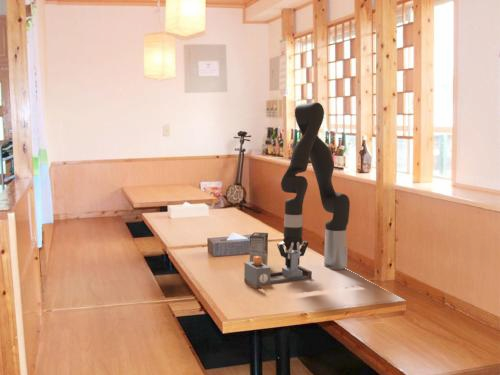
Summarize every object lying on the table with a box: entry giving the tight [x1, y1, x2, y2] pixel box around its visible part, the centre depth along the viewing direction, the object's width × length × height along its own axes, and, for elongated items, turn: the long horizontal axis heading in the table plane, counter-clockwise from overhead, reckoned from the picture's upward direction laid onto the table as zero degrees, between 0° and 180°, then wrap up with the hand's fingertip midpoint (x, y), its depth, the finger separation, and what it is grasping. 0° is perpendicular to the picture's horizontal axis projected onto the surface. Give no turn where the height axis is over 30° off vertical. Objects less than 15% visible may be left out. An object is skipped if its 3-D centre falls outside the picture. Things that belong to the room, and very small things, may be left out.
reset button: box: [253, 256, 262, 265], centre depth 255 cm, size 3×3×3 cm
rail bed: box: [243, 265, 313, 290], centre depth 260 cm, size 25×11×4 cm, turn 116°
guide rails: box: [269, 271, 310, 285], centre depth 261 cm, size 18×11×1 cm, turn 116°
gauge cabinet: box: [243, 261, 272, 286], centre depth 255 cm, size 6×11×6 cm, turn 26°
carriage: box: [281, 250, 303, 278], centre depth 262 cm, size 5×8×10 cm, turn 26°
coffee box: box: [249, 231, 269, 266], centre depth 276 cm, size 9×6×16 cm
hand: (292, 266), depth 262 cm, fingers closed on carriage, 3 cm apart
